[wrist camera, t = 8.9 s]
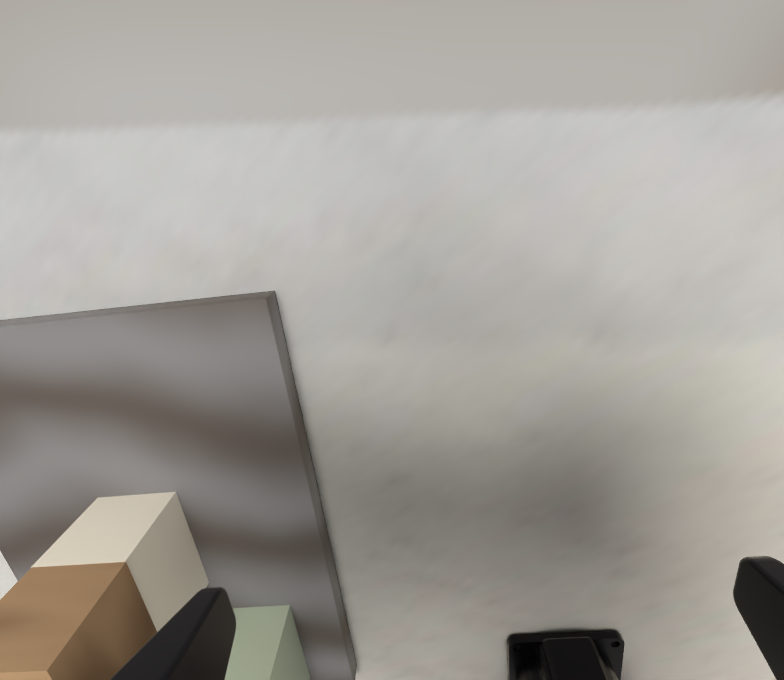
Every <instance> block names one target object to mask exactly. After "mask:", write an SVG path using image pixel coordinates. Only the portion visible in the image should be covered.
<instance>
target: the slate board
mask: <svg viewBox="0 0 784 680" xmlns="http://www.w3.org/2000/svg"><path fill="white" fill-rule="evenodd" d="M167 492H176V494H177V496H178V499H179V502H180V504H181V507H182V510H183V513H184V515H185V518H186V521H187V524H188V526H189V529H190V532H191V535H192V537H193V540H194V543H195V546H196V548H197V551H198V554H199V556H200V559H201V562H202V565H203V567H204V570H205V573H206V576H207V578H208V581H209V583H208V585H207V587H206V588H214V587H223V588H224V589H225V590H226V591H227V594H228V596H229V599H230V602H231V605H232V608H245V607H264V606H283V605H290V608H291V611H292V615H293V618H294V622H295V625H296V629H297V632H298V636H299V640H300V643H301V647H302V650H303V654H304V657H305V661H306V664H307V668H308V672H309V675H310V680H355V674H356V661H355V656H354V651H353V647H352V642H351V638H350V633H349V629H348V624H347V620H346V615H345V610H344V606H343V601H342V597H341V592H340V588H339V583H338V578H337V574H336V569H335V565H334V560H333V556H332V551H331V547H330V542H329V537H328V533H327V528H326V524H325V519H324V515H323V510H322V505H321V501H320V496H319V492H318V487H317V483H316V478H315V473H314V469H313V464H312V460H311V455H310V451H309V446H308V442H307V437H306V432H305V428H304V423H303V419H302V414H301V410H300V405H299V400H298V396H297V391H296V387H295V382H294V378H293V373H292V369H291V364H290V359H289V355H288V350H287V346H286V341H285V337H284V332H283V327H282V323H281V318H280V314H279V309H278V305H277V300H276V296H275V291H268V292H259V293H250V294H241V295H231V296H222V297H213V298H203V299H194V300H185V301H175V302H166V303H157V304H148V305H138V306H129V307H120V308H110V309H101V310H92V311H83V312H73V313H64V314H55V315H45V316H36V317H27V318H17V319H8V320H0V551H1V552H2V554H3V556H4V558H5V559H6V561H7V563H8V564H9V566H10V568H11V570H12V571H13V573H14V575H15V577H16V578H17V580H18V581H19V580H20V579H21V578H22V577H23V576H24V575H25V574H26V573H27V572H28V571H29V570H30V569H31V567H32V566H33V565H34V564H35V562H36V561H37V560H38V559H39V558H40V557H41V556H42V555H43V554H44V553H45V552H46V551H47V550H48V549H49V548H50V547H51V546H52V545H53V544H54V543H55V542H56V541H57V540H58V538H59V537H60V536H61V535H62V534H63V533H64V532H65V531H66V530H67V529H68V528H69V527H70V526H71V525H72V524H73V523H74V522H75V521H76V520H77V519H78V518H79V517H80V516H81V515H82V513H83V512H84V511H85V510H86V509H87V508H88V507H89V506H90V505H91V504H92V503H93V502H94V501H95V500H96V499H97V498H100V497H113V496H126V495H140V494H153V493H167Z"/></svg>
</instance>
